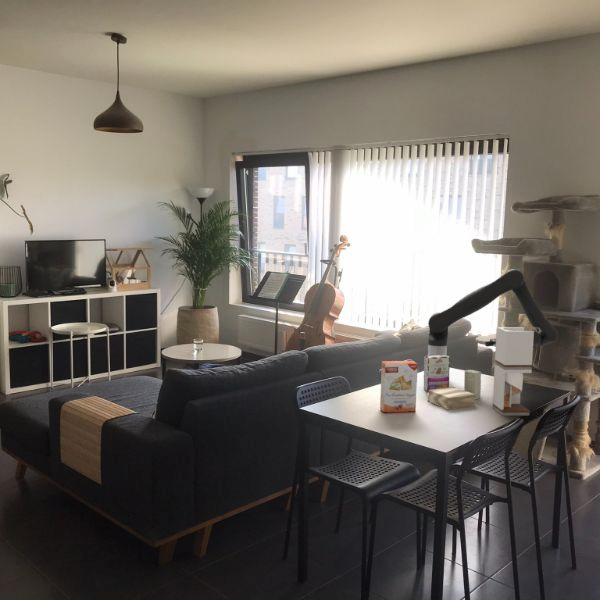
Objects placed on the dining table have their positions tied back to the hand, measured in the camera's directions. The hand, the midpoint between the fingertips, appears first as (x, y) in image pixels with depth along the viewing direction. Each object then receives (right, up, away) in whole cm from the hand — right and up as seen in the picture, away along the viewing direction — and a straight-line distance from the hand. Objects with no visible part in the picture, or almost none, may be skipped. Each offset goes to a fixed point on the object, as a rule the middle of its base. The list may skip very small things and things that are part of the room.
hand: (491, 345), depth 291 cm
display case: (+1, -26, -23) cm, 35 cm away
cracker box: (-47, -26, -24) cm, 59 cm away
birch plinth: (-21, -24, -12) cm, 35 cm away
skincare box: (-10, -24, -2) cm, 26 cm away
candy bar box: (-23, -22, +10) cm, 34 cm away
